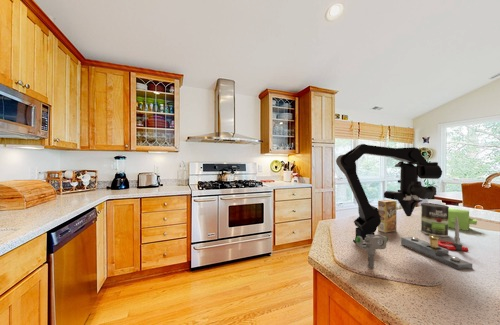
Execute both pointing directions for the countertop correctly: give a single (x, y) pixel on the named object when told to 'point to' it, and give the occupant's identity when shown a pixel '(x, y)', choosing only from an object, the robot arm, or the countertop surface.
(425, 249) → the grey slotted bracket fixture
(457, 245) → the tow hook
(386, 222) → the candy box
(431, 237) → the pin
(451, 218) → the gearbox
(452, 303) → the countertop surface
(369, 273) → the countertop surface
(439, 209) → the coffee can
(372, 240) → the mechanical component
